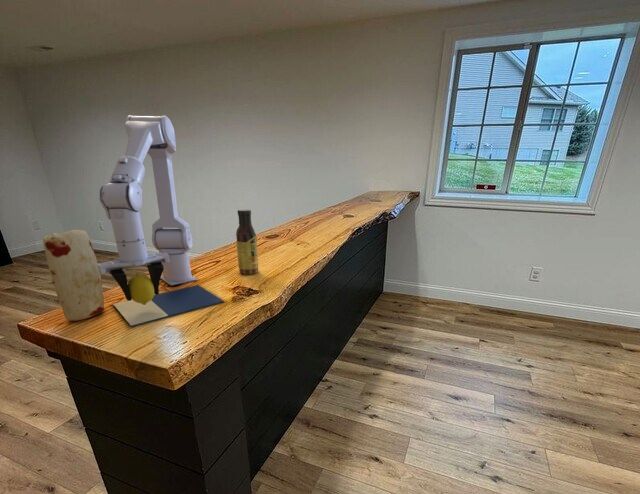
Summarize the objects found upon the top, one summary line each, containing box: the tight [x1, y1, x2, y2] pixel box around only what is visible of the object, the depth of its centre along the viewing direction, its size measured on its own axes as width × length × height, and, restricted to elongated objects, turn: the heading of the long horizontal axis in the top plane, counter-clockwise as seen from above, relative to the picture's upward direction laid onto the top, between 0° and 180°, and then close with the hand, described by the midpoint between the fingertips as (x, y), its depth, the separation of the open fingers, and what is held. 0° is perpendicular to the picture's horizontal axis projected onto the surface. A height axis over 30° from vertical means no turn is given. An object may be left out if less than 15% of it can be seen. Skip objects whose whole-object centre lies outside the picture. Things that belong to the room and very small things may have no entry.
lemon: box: [127, 272, 155, 305], centre depth 82 cm, size 6×6×8 cm
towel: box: [112, 284, 225, 328], centre depth 88 cm, size 16×22×1 cm
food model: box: [42, 229, 105, 322], centre depth 78 cm, size 10×7×20 cm
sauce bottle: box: [235, 208, 259, 276], centre depth 109 cm, size 6×6×20 cm
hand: (142, 296), depth 83 cm, fingers closed on lemon, 5 cm apart
